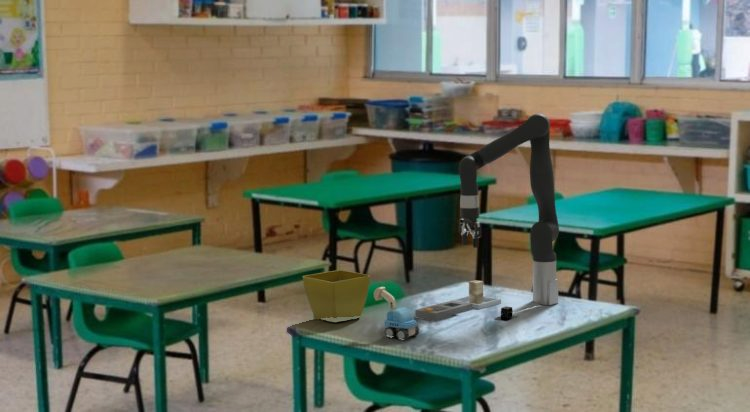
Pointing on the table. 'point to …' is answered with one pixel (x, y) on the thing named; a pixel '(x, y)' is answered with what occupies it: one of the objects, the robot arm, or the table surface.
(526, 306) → the table surface
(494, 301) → the tray
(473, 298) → the plug peg
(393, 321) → the toy excavator
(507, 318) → the black block
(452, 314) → the power strip
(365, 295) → the flower pot
